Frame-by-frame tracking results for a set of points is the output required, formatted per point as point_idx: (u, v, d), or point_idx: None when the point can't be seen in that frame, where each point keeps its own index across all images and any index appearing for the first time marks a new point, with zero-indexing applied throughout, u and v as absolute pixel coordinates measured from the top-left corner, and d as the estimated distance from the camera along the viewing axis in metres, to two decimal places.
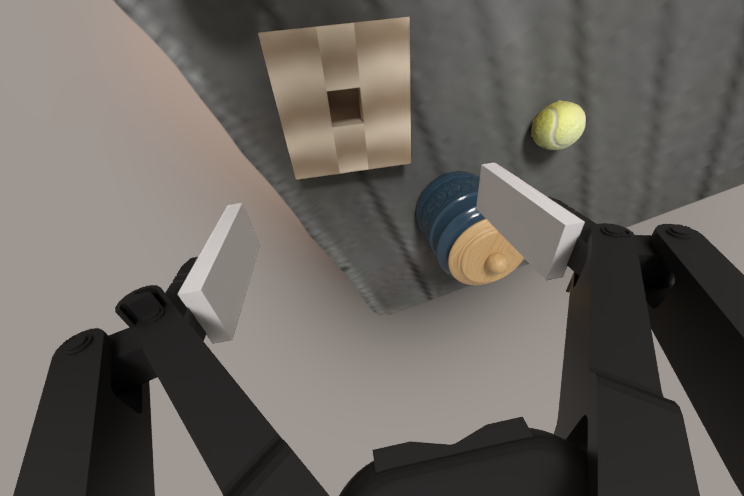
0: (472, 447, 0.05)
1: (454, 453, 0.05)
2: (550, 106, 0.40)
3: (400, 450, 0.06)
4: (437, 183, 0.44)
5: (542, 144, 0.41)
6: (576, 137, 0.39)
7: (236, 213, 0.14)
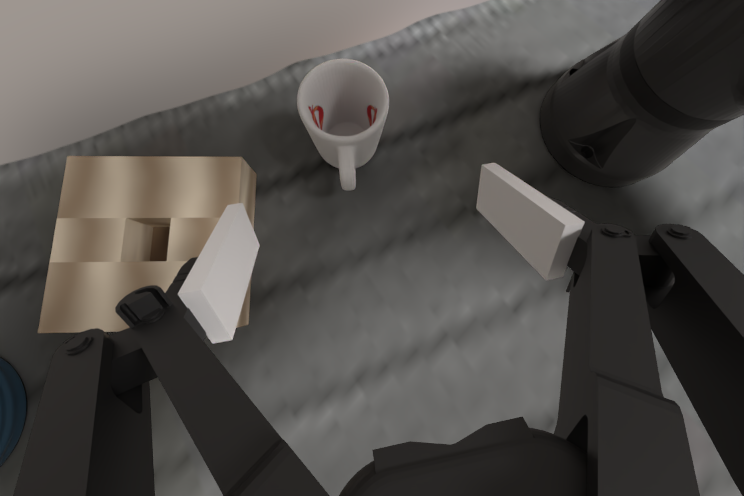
0: (472, 447, 0.05)
1: (454, 452, 0.05)
2: None
3: (400, 450, 0.06)
4: None
5: None
6: None
7: (236, 213, 0.14)
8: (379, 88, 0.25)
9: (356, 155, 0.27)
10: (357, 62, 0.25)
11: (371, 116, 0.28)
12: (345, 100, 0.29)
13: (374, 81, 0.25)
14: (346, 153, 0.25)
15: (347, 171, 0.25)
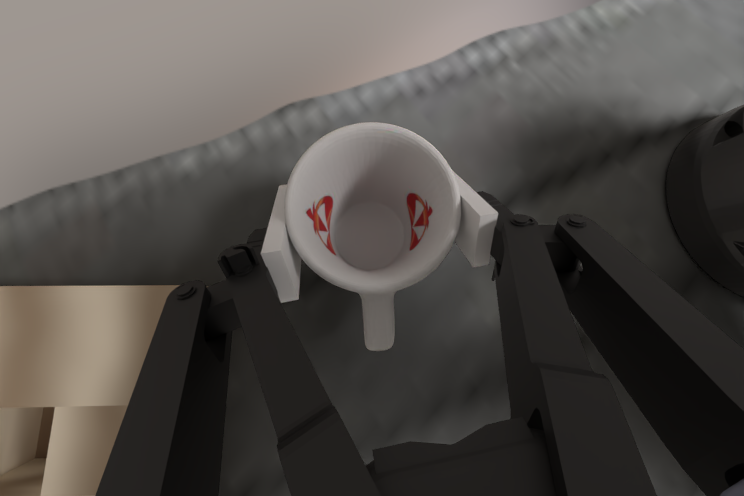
0: (472, 447, 0.05)
1: (454, 452, 0.05)
2: None
3: (400, 450, 0.06)
4: None
5: None
6: None
7: None
8: (441, 179, 0.13)
9: None
10: (399, 129, 0.13)
11: (415, 209, 0.17)
12: (370, 180, 0.17)
13: (431, 164, 0.13)
14: (379, 307, 0.13)
15: (380, 338, 0.13)
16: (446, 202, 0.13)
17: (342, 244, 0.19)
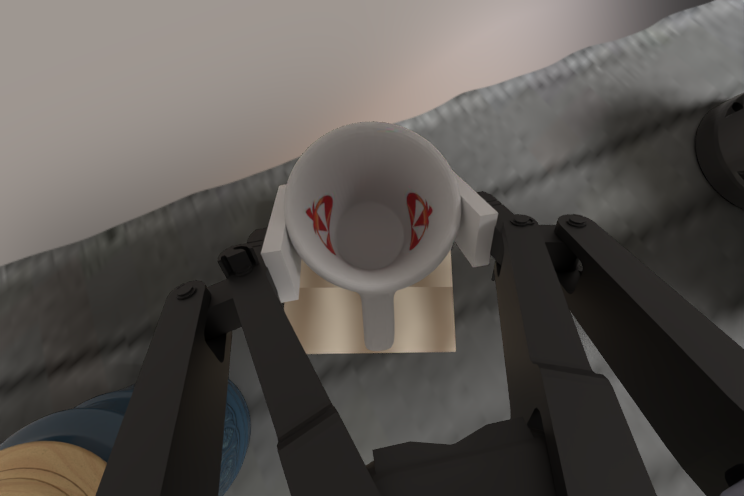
0: (472, 447, 0.05)
1: (454, 452, 0.05)
2: None
3: (400, 450, 0.06)
4: (237, 403, 0.27)
5: None
6: None
7: None
8: (441, 178, 0.13)
9: None
10: (399, 129, 0.13)
11: (415, 208, 0.16)
12: (370, 179, 0.17)
13: (431, 164, 0.13)
14: (379, 307, 0.13)
15: (380, 338, 0.13)
16: (446, 202, 0.13)
17: (342, 244, 0.19)
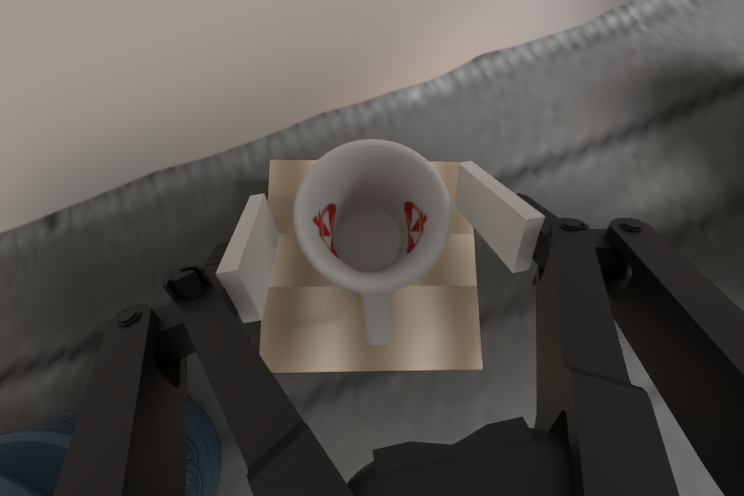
0: (471, 447, 0.05)
1: (454, 452, 0.05)
2: None
3: (400, 450, 0.06)
4: (201, 434, 0.21)
5: None
6: None
7: (260, 203, 0.14)
8: (434, 190, 0.15)
9: None
10: (397, 146, 0.15)
11: (411, 215, 0.18)
12: (370, 188, 0.18)
13: (425, 177, 0.15)
14: (378, 305, 0.14)
15: (379, 334, 0.14)
16: (439, 211, 0.15)
17: (344, 247, 0.21)
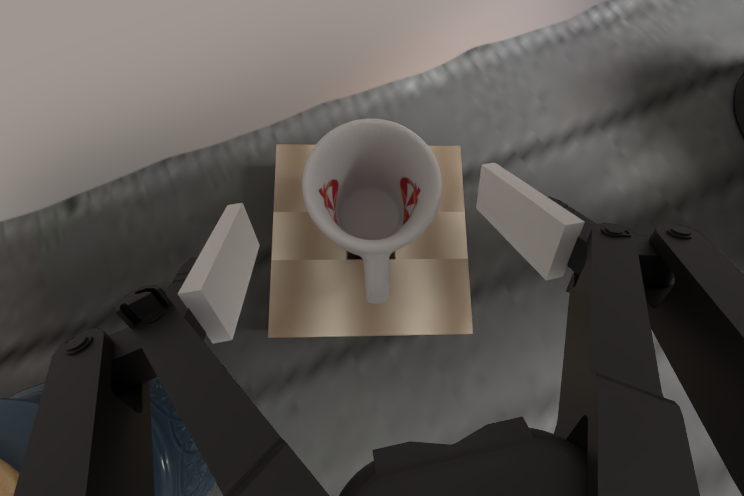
0: (471, 447, 0.05)
1: (454, 452, 0.05)
2: None
3: (400, 450, 0.06)
4: None
5: None
6: None
7: (236, 213, 0.14)
8: (426, 164, 0.17)
9: None
10: (393, 124, 0.17)
11: (407, 191, 0.20)
12: (369, 167, 0.20)
13: (418, 152, 0.17)
14: (377, 265, 0.16)
15: (378, 290, 0.16)
16: (430, 182, 0.16)
17: (345, 223, 0.23)
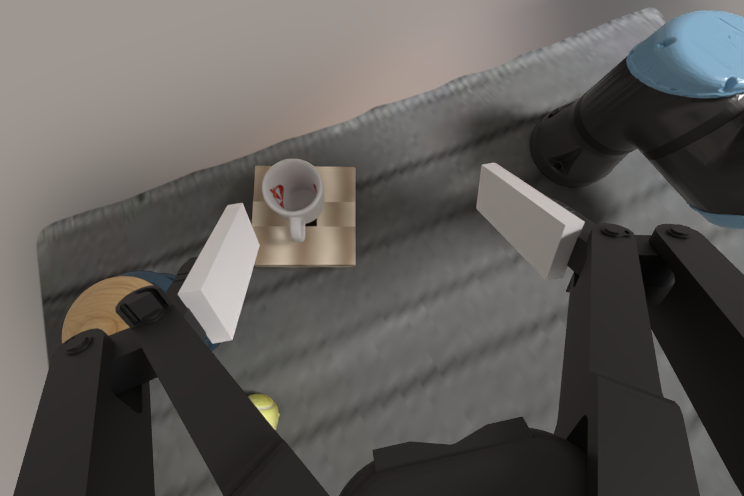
0: (472, 447, 0.05)
1: (454, 452, 0.05)
2: (275, 405, 0.41)
3: (400, 450, 0.06)
4: None
5: None
6: None
7: (236, 213, 0.14)
8: (316, 178, 0.38)
9: (303, 219, 0.40)
10: (302, 161, 0.38)
11: (316, 190, 0.41)
12: (298, 179, 0.42)
13: (313, 173, 0.38)
14: (294, 222, 0.37)
15: (295, 233, 0.38)
16: (318, 186, 0.38)
17: (290, 207, 0.44)
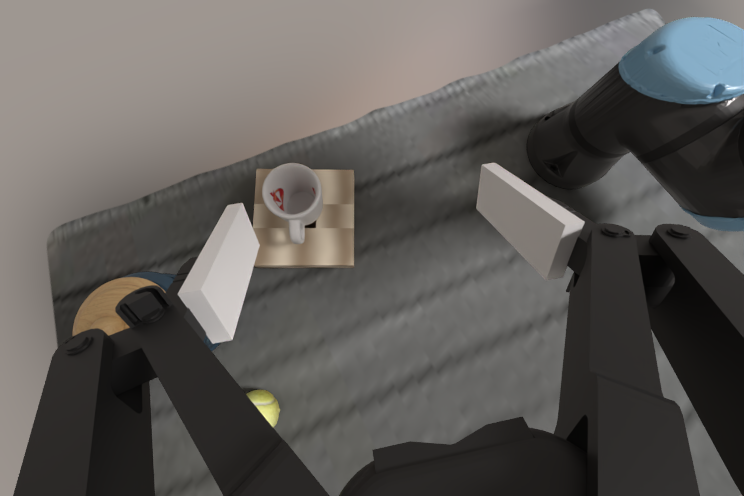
0: (472, 447, 0.05)
1: (454, 452, 0.05)
2: (275, 401, 0.43)
3: (400, 450, 0.06)
4: None
5: None
6: None
7: (236, 213, 0.14)
8: (315, 182, 0.39)
9: (303, 222, 0.41)
10: (301, 165, 0.39)
11: (315, 193, 0.42)
12: (298, 182, 0.43)
13: (312, 177, 0.39)
14: (293, 224, 0.39)
15: (294, 235, 0.39)
16: (316, 190, 0.39)
17: (290, 209, 0.45)
